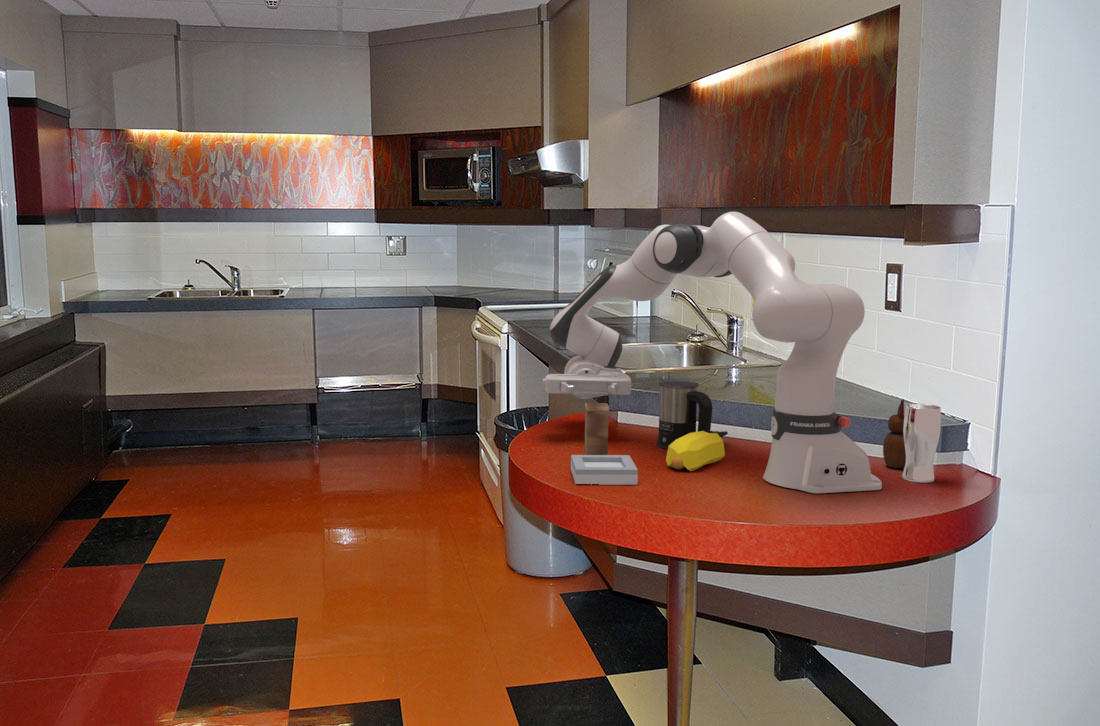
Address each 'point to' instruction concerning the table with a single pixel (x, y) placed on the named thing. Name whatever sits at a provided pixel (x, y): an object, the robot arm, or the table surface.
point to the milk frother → (682, 411)
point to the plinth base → (604, 469)
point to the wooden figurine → (895, 440)
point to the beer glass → (920, 441)
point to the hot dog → (695, 450)
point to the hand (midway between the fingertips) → (590, 390)
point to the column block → (596, 428)
